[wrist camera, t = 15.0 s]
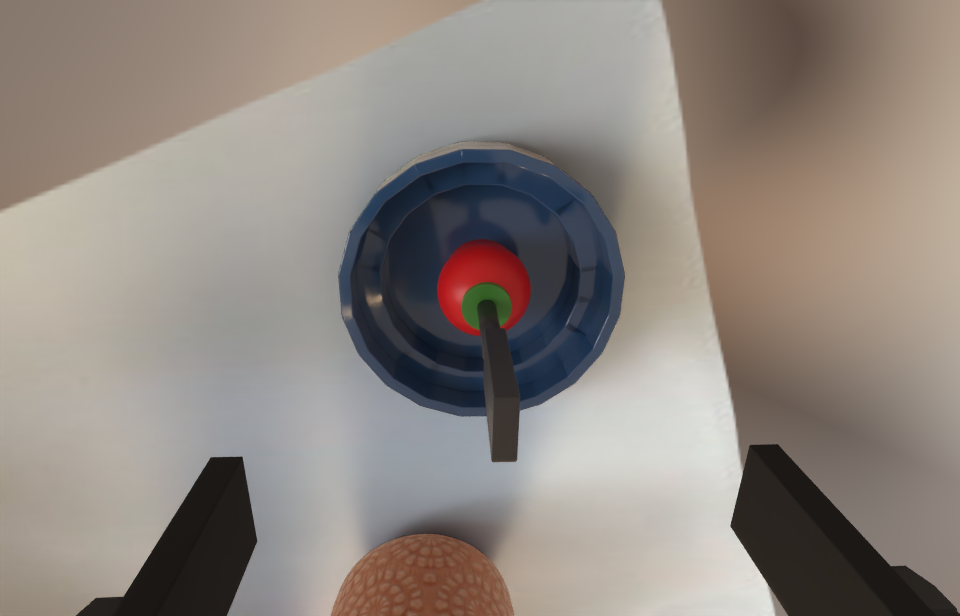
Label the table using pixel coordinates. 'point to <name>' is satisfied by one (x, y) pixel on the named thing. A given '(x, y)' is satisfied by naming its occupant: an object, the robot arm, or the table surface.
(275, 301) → the table surface
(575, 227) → the dish
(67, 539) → the table surface
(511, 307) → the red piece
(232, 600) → the robot arm
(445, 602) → the planter
